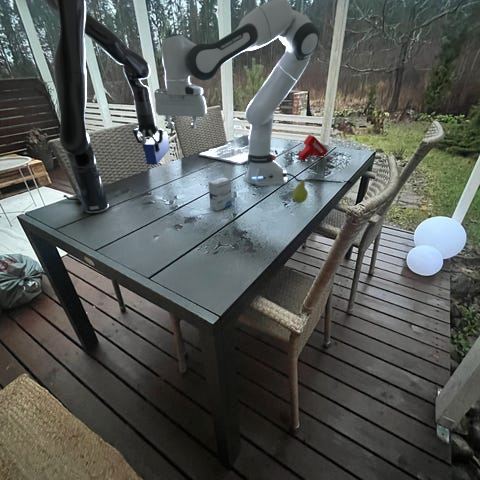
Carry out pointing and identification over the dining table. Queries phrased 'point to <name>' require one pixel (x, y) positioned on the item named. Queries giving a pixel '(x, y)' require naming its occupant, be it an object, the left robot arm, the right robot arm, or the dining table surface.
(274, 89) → the right robot arm
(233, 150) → the relief map
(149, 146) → the bar
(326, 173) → the dining table surface
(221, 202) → the ink box
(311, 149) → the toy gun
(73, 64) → the left robot arm
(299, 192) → the fruit
